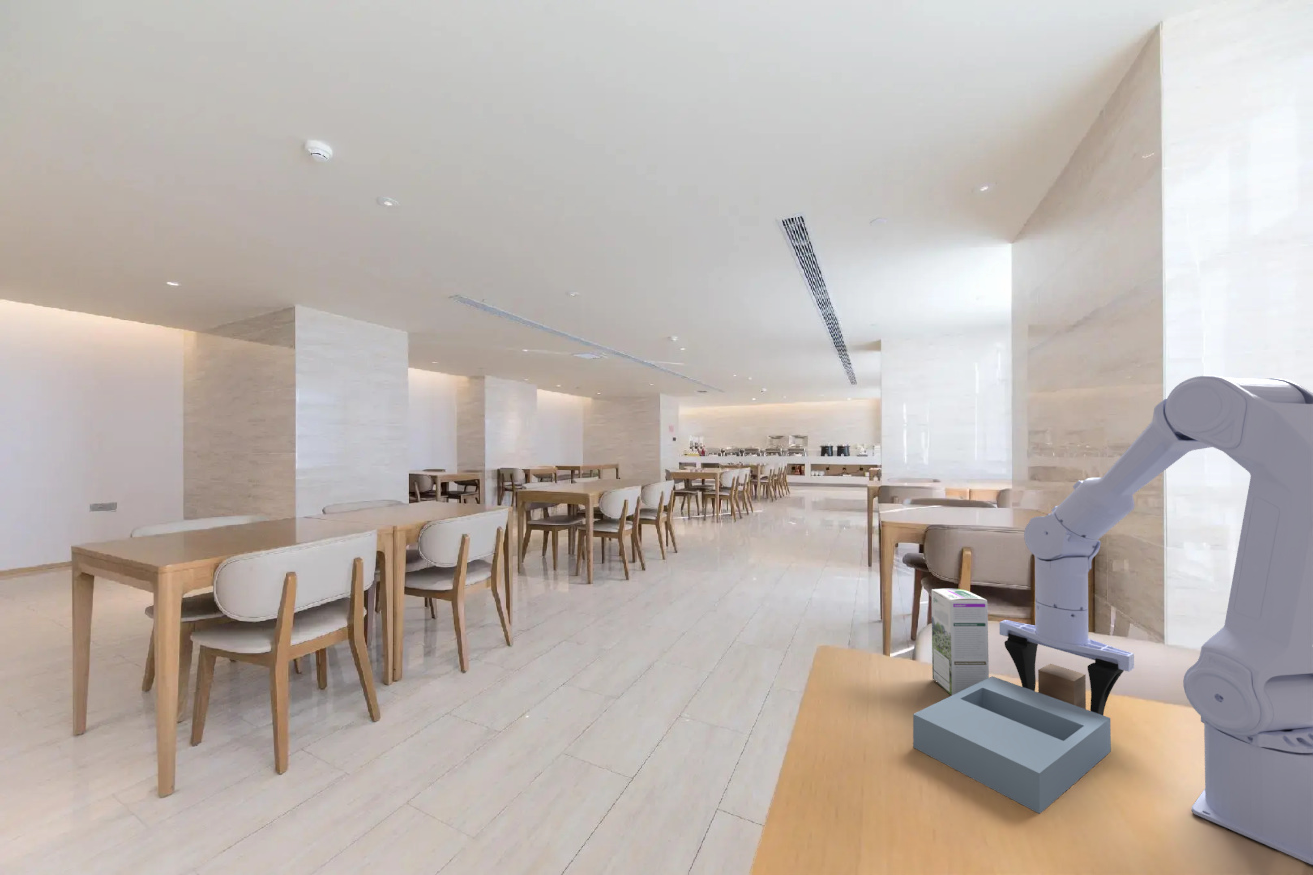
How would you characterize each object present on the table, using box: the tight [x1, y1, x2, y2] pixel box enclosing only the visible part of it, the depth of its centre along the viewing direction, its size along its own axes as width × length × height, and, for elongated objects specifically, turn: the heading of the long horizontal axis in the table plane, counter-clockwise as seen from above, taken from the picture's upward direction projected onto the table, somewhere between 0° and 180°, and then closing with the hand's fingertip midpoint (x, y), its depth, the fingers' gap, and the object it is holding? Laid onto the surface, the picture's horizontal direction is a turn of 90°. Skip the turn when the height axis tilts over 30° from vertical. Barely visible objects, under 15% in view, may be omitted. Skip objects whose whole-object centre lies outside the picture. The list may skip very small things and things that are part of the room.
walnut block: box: [1037, 663, 1087, 710], centre depth 69 cm, size 4×4×6 cm
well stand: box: [912, 676, 1112, 814], centre depth 60 cm, size 13×20×4 cm, turn 122°
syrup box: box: [930, 588, 990, 696], centre depth 76 cm, size 6×6×14 cm
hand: (1061, 703), depth 69 cm, fingers open, 7 cm apart
